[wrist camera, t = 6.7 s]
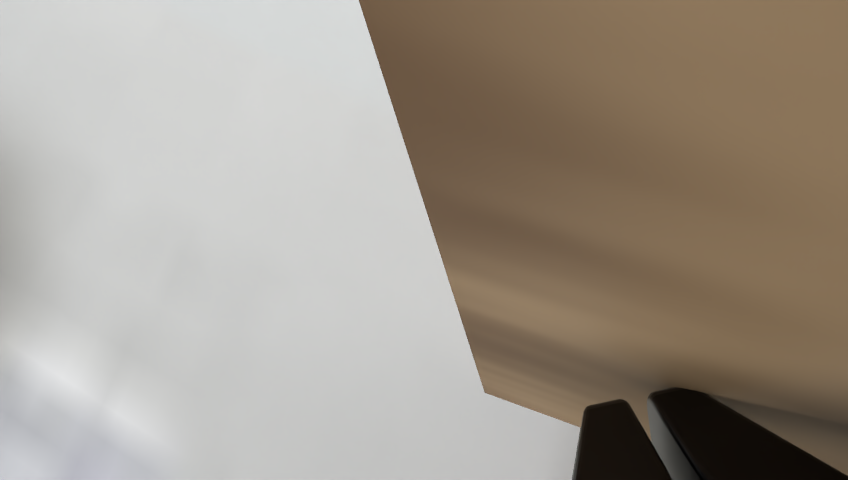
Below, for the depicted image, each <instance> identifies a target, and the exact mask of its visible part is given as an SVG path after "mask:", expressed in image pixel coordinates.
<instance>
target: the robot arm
mask: <svg viewBox="0 0 848 480" xmlns="http://www.w3.org/2000/svg"><path fill="white" fill-rule="evenodd" d="M647 411H648V419H649V427H650V434H651V441H650V439H649V437H648V435H647V434H646V432H645V430H644V428H643V427H642V425H641V423H640V421H639V420H638V418H637V416H636V415H635V413H634V411H633V409H632V408H631V406H630V404H629V403H628V402H627V401H625V400H623V399H617V400H612V401H607V402H602V403H598V404H593V405H589V406H587V407H586V408H585V410H584V412H583V416H582V422H581V428H580V434H579V440H578V446H577V452H576V458H575V464H574V470H573V476H572V480H848V476H847V475H845V474H844V473H842V472H840V471H839V470H837V469H835V468H833V467H832V466H830V465H828V464H826V463H825V462H823V461H821V460H820V459H818V458H816V457H814V456H813V455H811V454H809V453H807V452H806V451H804V450H802V449H800V448H799V447H797V446H795V445H794V444H792V443H790V442H788V441H787V440H785V439H783V438H781V437H780V436H778V435H776V434H775V433H773V432H771V431H769V430H768V429H766V428H764V427H762V426H761V425H759V424H757V423H755V422H754V421H752V420H750V419H749V418H747V417H745V416H743V415H742V414H740V413H738V412H736V411H735V410H733V409H731V408H729V407H728V406H726V405H724V404H723V403H721V402H719V401H717V400H716V399H714V398H712V397H710V396H709V395H707V394H705V393H703V392H699V391H695V390H690V389H684V388H677V387H674V388H669V389H664V390H659V391H654V392H652V393H650V395H649V396H648V398H647Z"/></svg>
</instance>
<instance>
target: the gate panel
mask: <svg viewBox="0 0 848 480" xmlns="http://www.w3.org/2000/svg"><path fill="white" fill-rule="evenodd" d="M359 2H360V5H361V8H362V12H363V15H364V18H365V21H366V24H367V27H368V30H369V33H370V36H371V40H372V43H373V46H374V49H375V52H376V55H377V58H378V61H379V64H380V68H381V71H382V74H383V77H384V80H385V83H386V86H387V89H388V93H389V96H390V99H391V102H392V105H393V108H394V111H395V114H396V117H397V121H398V124H399V127H400V130H401V133H402V136H403V139H404V142H405V145H406V149H407V152H408V155H409V158H410V161H411V164H412V167H413V170H414V173H415V177H416V180H417V183H418V186H419V189H420V192H421V195H422V198H423V202H424V205H425V208H426V211H427V214H428V217H429V220H430V223H431V226H432V230H433V233H434V236H435V239H436V242H437V245H438V248H439V251H440V254H441V258H442V261H443V264H444V267H445V270H446V273H447V276H448V279H449V282H450V286H451V289H452V292H453V295H454V298H455V301H456V304H457V307H458V311H459V314H460V317H461V320H462V323H463V326H464V329H465V332H466V335H467V339H468V342H469V345H470V348H471V351H472V354H473V357H474V360H475V363H476V367H477V370H478V373H479V376H480V379H481V382H482V385H483V388H484V391H485V393H487V394H490V395H493V396H496V397H498V398H501V399H504V400H507V401H509V402H512V403H515V404H518V405H520V406H523V407H526V408H529V409H531V410H534V411H537V412H540V413H542V414H545V415H548V416H551V417H553V418H556V419H559V420H562V421H564V422H567V423H570V424H573V425H575V426H578V427H581V422H582V416H583V412H584V410H585V408H586V407H587V406H589V405H593V404H598V403H602V402H607V401H612V400H617V399H623V400H625V401H627V402H628V403H629V404H630V406H631V408H632V409H633V411H634V413H635V415H636V416H637V418H638V420H639V421H640V423H641V425H642V427H643V428H644V430H645V432H646V434H647V435H648V437H649V439H650V441H651V434H650V427H649V419H648V411H647V398H648V396H649V395H650V393H652V392H654V391H659V390H664V389H669V388H674V387H677V388H684V389H690V390H695V391H699V392H703V393H705V394H707V395H709V396H710V397H712V398H714V399H716V400H717V401H719V402H721V403H723V404H724V405H726V406H728V407H729V408H731V409H733V410H735V411H736V412H738V413H740V414H742V415H743V416H745V417H747V418H749V419H750V420H752V421H754V422H755V423H757V424H759V425H761V426H762V427H764V428H766V429H768V430H769V431H771V432H773V433H775V434H776V435H778V436H780V437H781V438H783V439H785V440H787V441H788V442H790V443H792V444H794V445H795V446H797V447H799V448H800V449H802V450H804V451H806V452H807V453H809V454H811V455H813V456H814V457H816V458H818V459H820V460H821V461H823V462H825V463H826V464H828V465H830V466H832V467H833V468H835V469H837V470H839V471H840V472H842V473H844V474H845V475H847V476H848V0H359Z"/></svg>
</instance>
